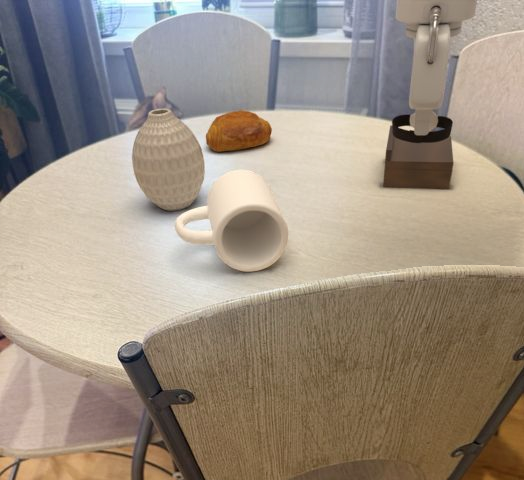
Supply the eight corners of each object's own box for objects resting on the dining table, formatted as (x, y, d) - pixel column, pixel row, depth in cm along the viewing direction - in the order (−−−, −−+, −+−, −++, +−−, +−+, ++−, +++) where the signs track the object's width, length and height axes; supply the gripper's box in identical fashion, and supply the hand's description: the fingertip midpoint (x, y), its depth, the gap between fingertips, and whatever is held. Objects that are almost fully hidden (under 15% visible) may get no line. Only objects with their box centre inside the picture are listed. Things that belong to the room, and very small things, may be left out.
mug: (274, 227, 91) (270, 164, 84) (290, 267, 81) (287, 199, 74) (179, 240, 90) (167, 177, 83) (182, 282, 79) (169, 214, 72)
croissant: (275, 157, 123) (279, 121, 118) (208, 157, 119) (209, 120, 114) (261, 136, 133) (264, 102, 128) (199, 136, 130) (200, 101, 125)
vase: (127, 210, 100) (105, 117, 90) (173, 185, 108) (157, 97, 98) (179, 224, 94) (161, 127, 84) (222, 197, 102) (212, 105, 92)
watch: (452, 134, 71) (457, 105, 68) (447, 146, 68) (452, 116, 65) (394, 131, 73) (397, 103, 71) (386, 142, 70) (389, 113, 68)
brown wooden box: (447, 161, 109) (452, 125, 104) (449, 189, 98) (455, 150, 94) (387, 159, 111) (390, 125, 107) (383, 186, 101) (386, 149, 97)
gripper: (469, 14, 52) (448, 155, 61) (462, -13, 67) (446, 103, 76) (403, 16, 54) (391, 154, 62) (411, -10, 69) (400, 103, 78)
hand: (421, 126), depth 69 cm, fingers closed on watch, 4 cm apart
